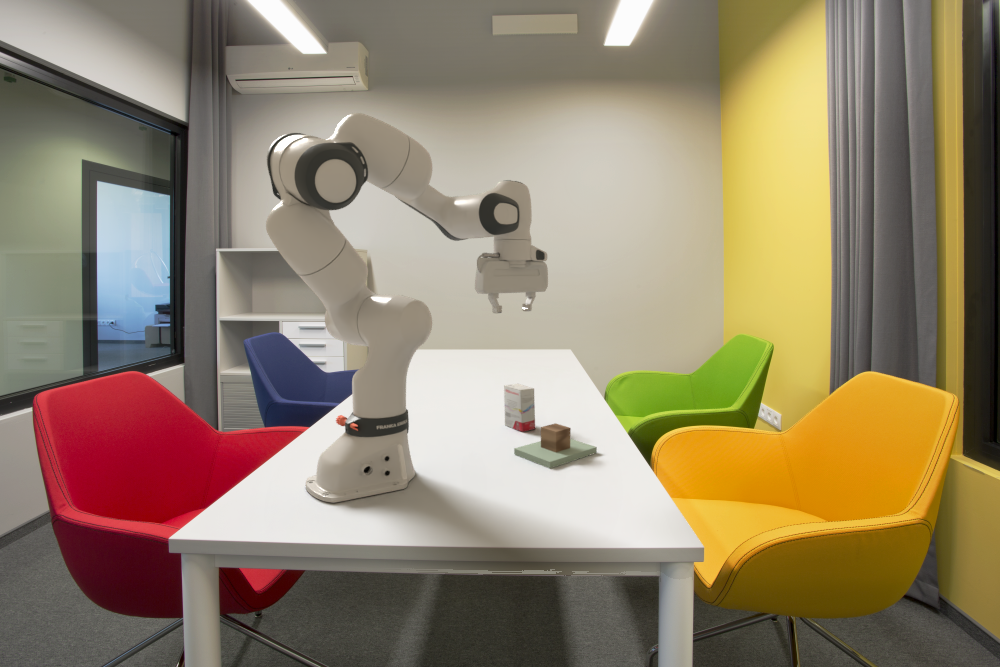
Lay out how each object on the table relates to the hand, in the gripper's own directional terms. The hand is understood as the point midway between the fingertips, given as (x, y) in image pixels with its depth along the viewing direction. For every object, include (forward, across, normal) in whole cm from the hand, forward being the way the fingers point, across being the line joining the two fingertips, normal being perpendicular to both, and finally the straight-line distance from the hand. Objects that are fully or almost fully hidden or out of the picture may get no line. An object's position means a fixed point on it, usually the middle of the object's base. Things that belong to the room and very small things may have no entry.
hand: (512, 312), depth 128 cm
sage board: (+34, +7, -8) cm, 36 cm away
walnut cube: (+33, +7, -8) cm, 34 cm away
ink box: (+34, +15, +14) cm, 40 cm away
